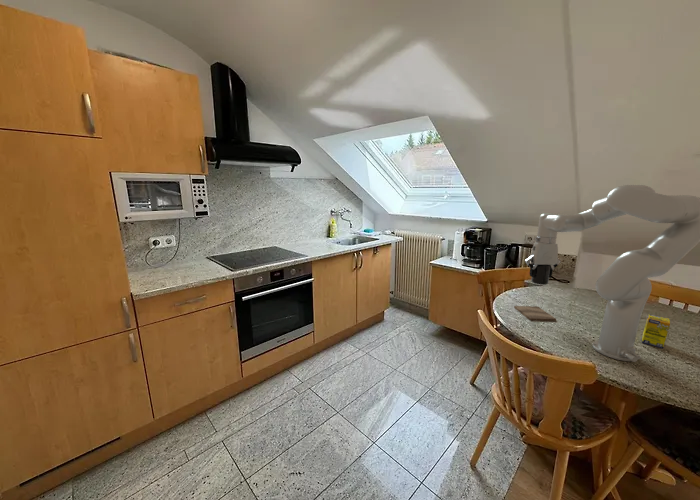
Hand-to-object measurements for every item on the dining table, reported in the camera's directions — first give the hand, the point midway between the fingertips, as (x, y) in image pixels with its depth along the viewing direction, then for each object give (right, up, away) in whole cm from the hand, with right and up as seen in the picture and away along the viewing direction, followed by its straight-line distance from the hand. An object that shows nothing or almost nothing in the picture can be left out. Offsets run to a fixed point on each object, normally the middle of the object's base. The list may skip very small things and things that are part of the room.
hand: (540, 276), depth 134 cm
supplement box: (+31, -25, -21) cm, 45 cm away
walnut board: (0, -19, +5) cm, 20 cm away
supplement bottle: (0, -3, +1) cm, 3 cm away
